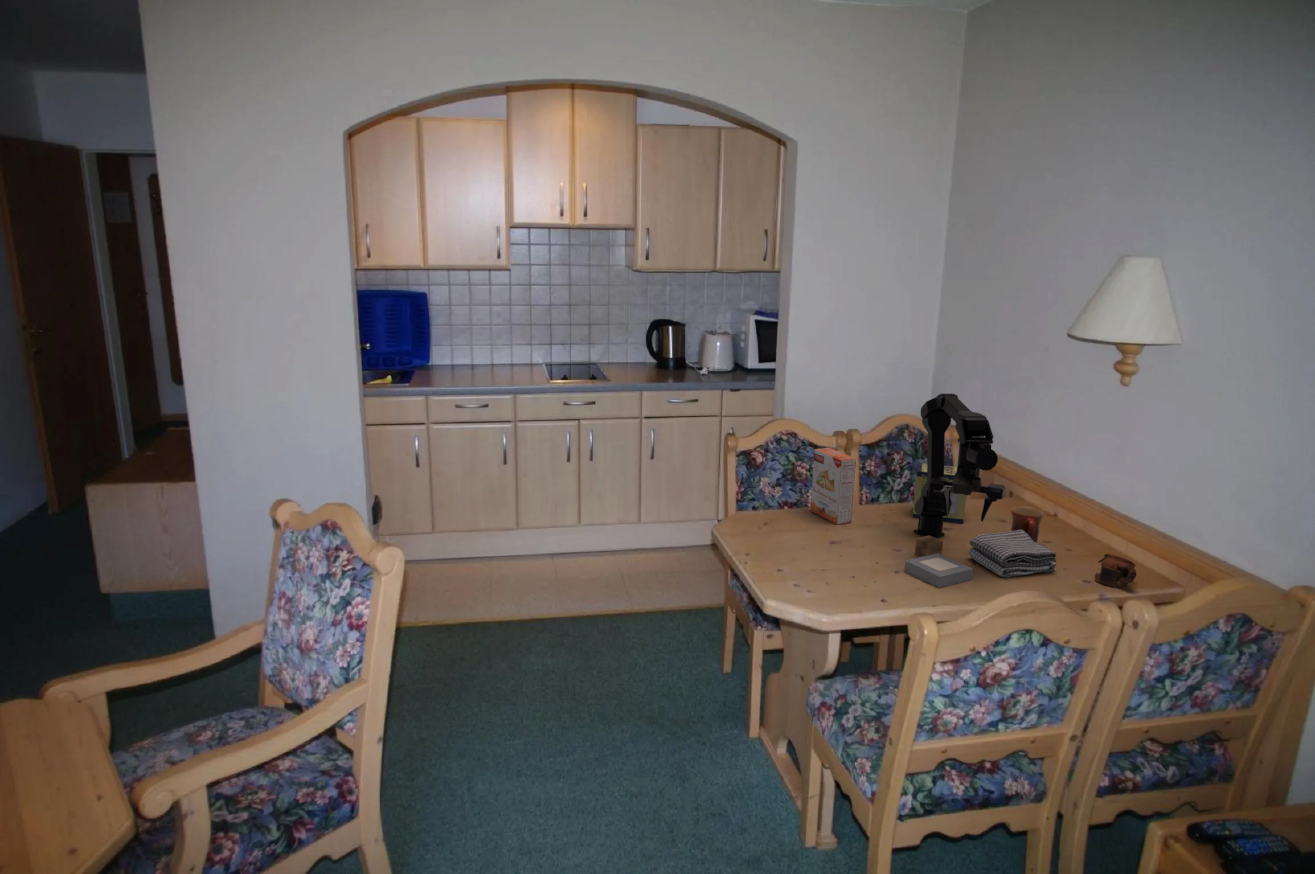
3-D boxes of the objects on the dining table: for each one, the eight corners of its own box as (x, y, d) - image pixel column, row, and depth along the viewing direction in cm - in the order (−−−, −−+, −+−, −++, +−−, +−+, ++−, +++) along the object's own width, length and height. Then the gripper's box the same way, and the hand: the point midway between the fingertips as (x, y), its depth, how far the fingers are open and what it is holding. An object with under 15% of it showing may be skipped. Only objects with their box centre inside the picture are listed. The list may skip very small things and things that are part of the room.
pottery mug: (1083, 578, 224) (1094, 549, 225) (1111, 592, 226) (1121, 564, 227) (1117, 585, 212) (1128, 555, 213) (1146, 600, 214) (1157, 570, 215)
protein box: (912, 508, 277) (917, 462, 273) (963, 514, 272) (968, 467, 269) (911, 518, 267) (916, 470, 264) (964, 524, 263) (969, 476, 259)
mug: (1004, 538, 251) (1008, 505, 249) (1035, 541, 249) (1040, 507, 247) (1012, 552, 240) (1016, 518, 237) (1045, 555, 238) (1050, 521, 236)
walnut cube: (914, 554, 237) (916, 538, 236) (927, 552, 239) (929, 535, 238) (928, 561, 232) (930, 543, 231) (941, 558, 235) (943, 541, 234)
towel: (964, 559, 235) (968, 532, 233) (1020, 553, 240) (1023, 527, 238) (1001, 580, 221) (1005, 552, 219) (1059, 573, 226) (1063, 546, 224)
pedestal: (904, 571, 225) (905, 559, 224) (936, 563, 231) (937, 552, 230) (938, 587, 215) (940, 576, 214) (971, 579, 220) (973, 568, 220)
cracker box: (809, 511, 271) (813, 448, 266) (824, 509, 274) (829, 446, 269) (835, 525, 259) (840, 459, 254) (851, 523, 261) (857, 457, 256)
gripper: (926, 462, 223) (921, 519, 226) (1001, 472, 214) (995, 531, 217) (936, 455, 233) (931, 510, 236) (1008, 464, 224) (1002, 521, 227)
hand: (964, 518), depth 229 cm, fingers open, 9 cm apart
